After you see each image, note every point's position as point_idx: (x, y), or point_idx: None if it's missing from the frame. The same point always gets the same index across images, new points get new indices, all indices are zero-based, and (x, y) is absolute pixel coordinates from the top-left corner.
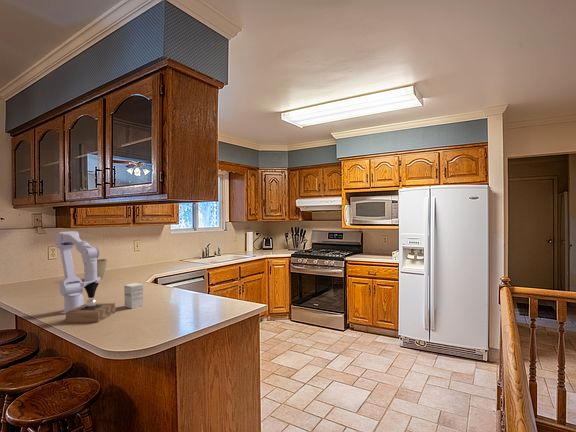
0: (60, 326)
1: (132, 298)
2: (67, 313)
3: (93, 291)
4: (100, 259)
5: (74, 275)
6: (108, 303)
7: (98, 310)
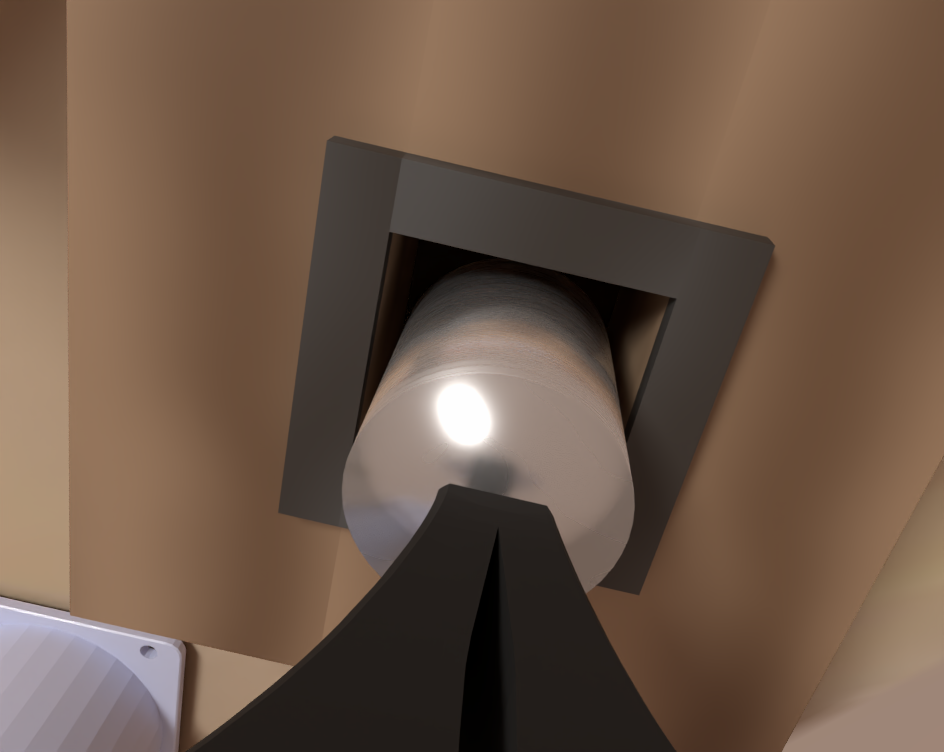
0: (917, 636)
1: None
2: (781, 730)
3: (585, 685)
4: None
5: None
6: (102, 7)
7: None
